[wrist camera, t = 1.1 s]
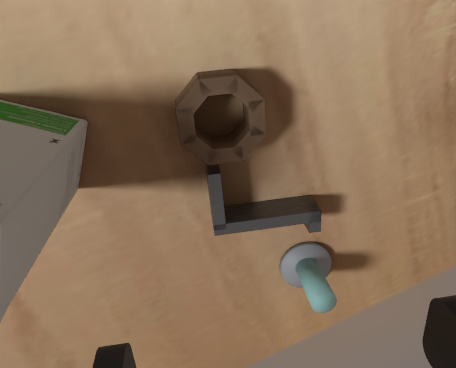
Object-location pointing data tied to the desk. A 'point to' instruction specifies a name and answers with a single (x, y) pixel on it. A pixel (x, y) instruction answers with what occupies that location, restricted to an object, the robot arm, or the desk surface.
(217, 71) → the walnut ring
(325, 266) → the teal flanged peg
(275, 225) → the bent rail
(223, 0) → the desk surface
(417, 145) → the desk surface
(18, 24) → the desk surface
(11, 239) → the skincare box
